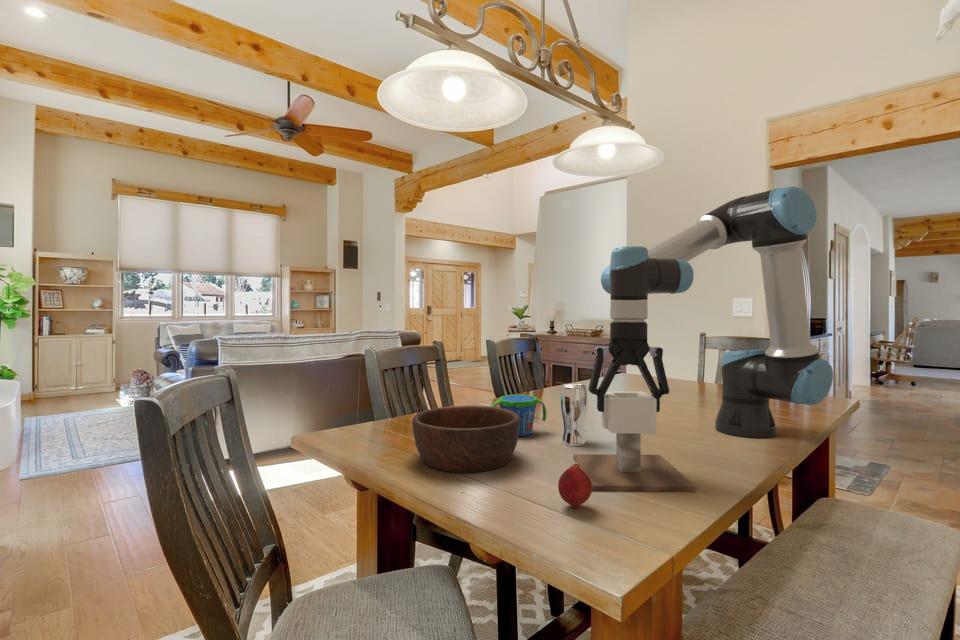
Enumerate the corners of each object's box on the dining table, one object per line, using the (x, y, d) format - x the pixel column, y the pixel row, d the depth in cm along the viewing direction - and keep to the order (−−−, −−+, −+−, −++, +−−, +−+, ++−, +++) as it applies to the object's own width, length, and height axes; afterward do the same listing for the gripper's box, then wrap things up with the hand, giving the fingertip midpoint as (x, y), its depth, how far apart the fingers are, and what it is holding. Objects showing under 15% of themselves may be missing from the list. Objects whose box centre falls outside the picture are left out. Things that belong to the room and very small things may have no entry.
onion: (570, 516, 82) (570, 469, 82) (552, 504, 88) (551, 460, 88) (598, 510, 85) (598, 465, 85) (579, 499, 90) (579, 456, 90)
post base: (660, 459, 113) (660, 411, 113) (694, 491, 93) (695, 434, 93) (573, 458, 114) (573, 411, 114) (589, 490, 94) (589, 433, 94)
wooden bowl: (468, 487, 96) (467, 435, 96) (390, 461, 113) (389, 416, 113) (541, 458, 115) (541, 414, 115) (465, 439, 132) (465, 401, 131)
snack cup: (490, 439, 131) (490, 401, 131) (490, 429, 142) (490, 394, 142) (548, 438, 131) (548, 401, 131) (544, 429, 142) (544, 394, 141)
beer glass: (585, 439, 130) (585, 383, 130) (589, 447, 123) (589, 387, 123) (559, 439, 131) (559, 383, 130) (561, 446, 124) (561, 387, 123)
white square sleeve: (643, 423, 108) (643, 391, 108) (656, 433, 99) (656, 399, 99) (602, 422, 108) (602, 391, 108) (611, 433, 99) (611, 398, 99)
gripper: (674, 320, 106) (673, 423, 107) (573, 320, 107) (573, 422, 108) (687, 321, 99) (686, 432, 99) (579, 321, 100) (579, 431, 100)
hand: (628, 427), depth 103 cm, fingers closed on white square sleeve, 9 cm apart
